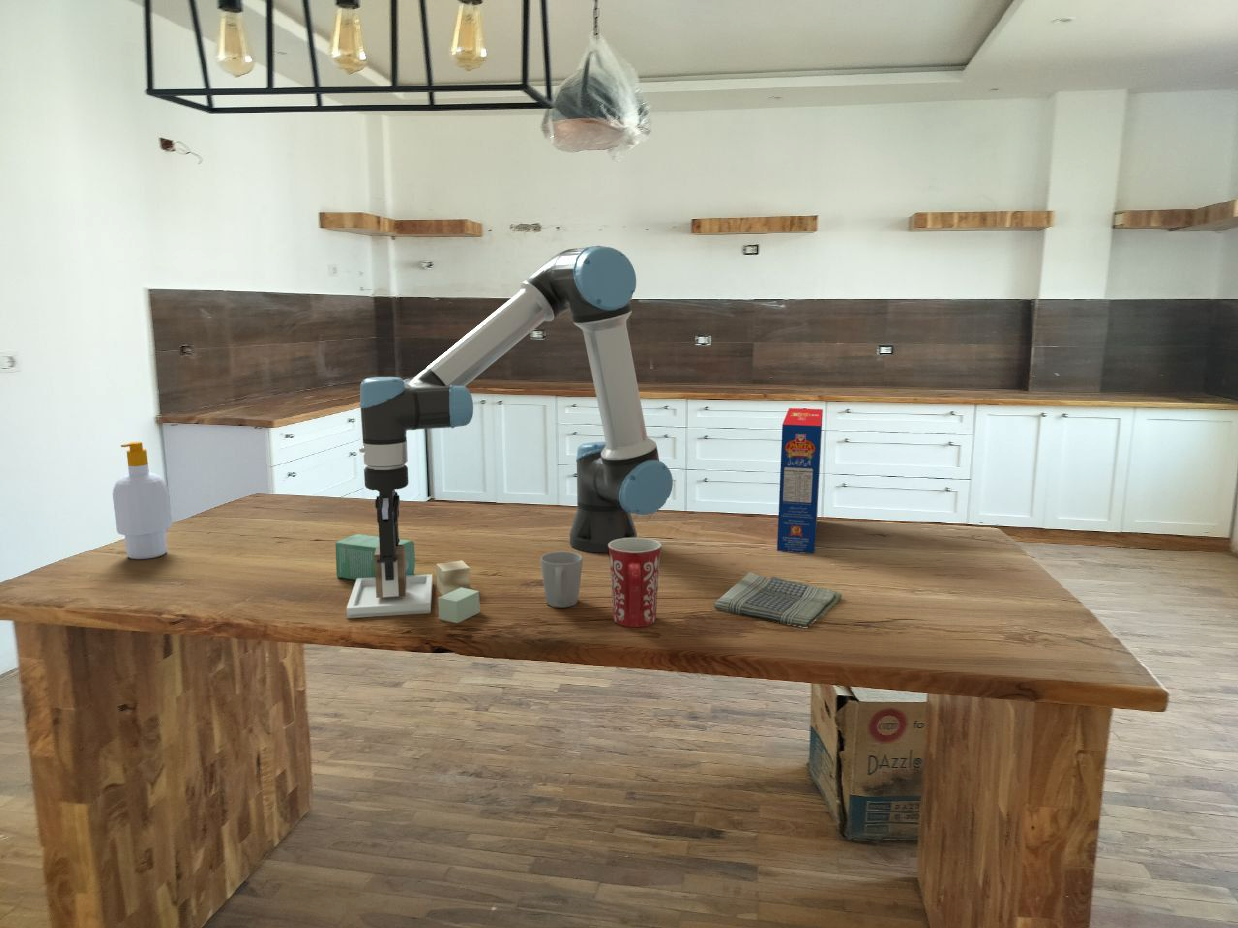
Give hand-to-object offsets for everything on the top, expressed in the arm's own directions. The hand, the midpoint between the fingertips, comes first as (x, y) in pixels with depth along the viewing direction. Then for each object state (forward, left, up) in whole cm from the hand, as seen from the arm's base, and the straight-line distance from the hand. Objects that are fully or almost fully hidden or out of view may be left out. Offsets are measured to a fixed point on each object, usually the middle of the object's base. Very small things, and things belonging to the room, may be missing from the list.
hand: (392, 590), depth 155 cm
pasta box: (-90, -28, -2) cm, 94 cm away
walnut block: (0, 0, 0) cm, 0 cm away
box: (+4, -14, -2) cm, 15 cm away
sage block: (-12, +10, -2) cm, 16 cm away
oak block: (-11, -3, -2) cm, 12 cm away
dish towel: (-69, +14, -3) cm, 70 cm away
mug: (-41, +19, -2) cm, 45 cm away
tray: (0, 0, -2) cm, 2 cm away
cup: (-30, +8, -2) cm, 31 cm away
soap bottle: (+53, -37, -2) cm, 65 cm away
